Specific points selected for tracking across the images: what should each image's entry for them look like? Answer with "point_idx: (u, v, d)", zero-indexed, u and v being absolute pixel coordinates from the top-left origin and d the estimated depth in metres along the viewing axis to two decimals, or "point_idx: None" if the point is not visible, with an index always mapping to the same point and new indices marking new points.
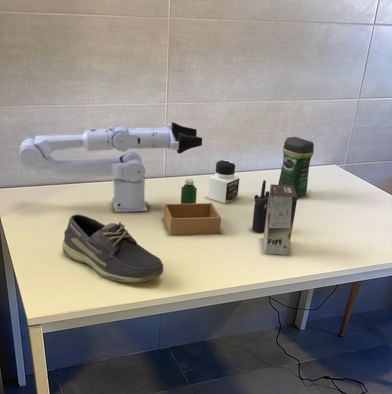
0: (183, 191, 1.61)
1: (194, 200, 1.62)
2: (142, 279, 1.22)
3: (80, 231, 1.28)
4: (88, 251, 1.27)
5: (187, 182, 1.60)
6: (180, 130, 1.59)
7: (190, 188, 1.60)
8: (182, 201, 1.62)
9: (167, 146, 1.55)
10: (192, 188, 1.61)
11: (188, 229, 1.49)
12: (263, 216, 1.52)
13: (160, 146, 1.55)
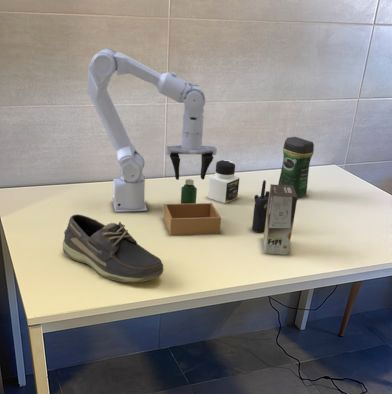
0: (183, 191, 1.61)
1: (194, 200, 1.62)
2: (142, 279, 1.22)
3: (80, 231, 1.28)
4: (88, 251, 1.27)
5: (187, 182, 1.60)
6: (203, 162, 1.58)
7: (190, 188, 1.60)
8: (182, 201, 1.62)
9: None
10: (192, 188, 1.61)
11: (188, 229, 1.49)
12: (263, 216, 1.52)
13: None
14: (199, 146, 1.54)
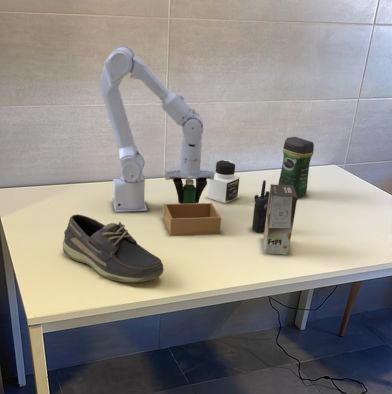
0: (183, 191, 1.61)
1: (194, 200, 1.62)
2: (142, 279, 1.22)
3: (80, 231, 1.28)
4: (88, 251, 1.27)
5: (187, 182, 1.60)
6: (197, 187, 1.61)
7: (190, 188, 1.60)
8: (182, 201, 1.62)
9: None
10: (192, 188, 1.61)
11: (188, 229, 1.49)
12: (263, 216, 1.52)
13: None
14: (197, 171, 1.57)
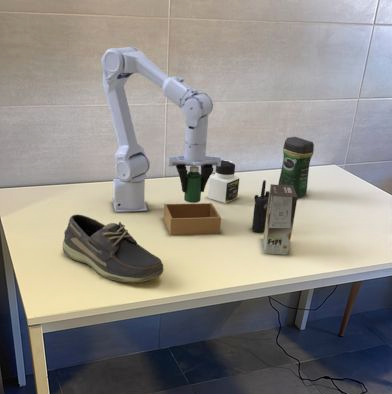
0: (187, 179, 1.48)
1: (199, 189, 1.50)
2: (142, 279, 1.22)
3: (80, 231, 1.28)
4: (88, 251, 1.27)
5: (192, 169, 1.47)
6: (203, 174, 1.49)
7: (195, 175, 1.48)
8: (186, 190, 1.50)
9: None
10: (197, 175, 1.48)
11: (188, 229, 1.49)
12: (263, 216, 1.52)
13: None
14: (203, 157, 1.45)
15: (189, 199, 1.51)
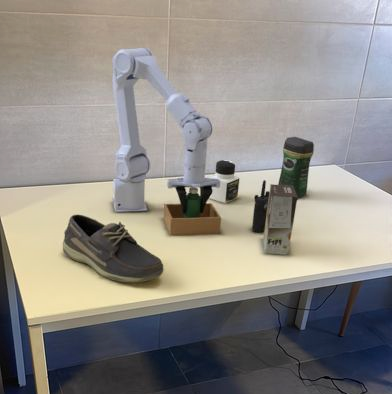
0: (187, 200, 1.49)
1: (198, 210, 1.51)
2: (142, 279, 1.22)
3: (80, 231, 1.28)
4: (88, 251, 1.27)
5: (191, 190, 1.49)
6: (202, 196, 1.50)
7: (194, 197, 1.49)
8: (185, 211, 1.51)
9: None
10: (196, 197, 1.49)
11: (188, 229, 1.49)
12: (263, 216, 1.52)
13: None
14: (202, 179, 1.46)
15: None
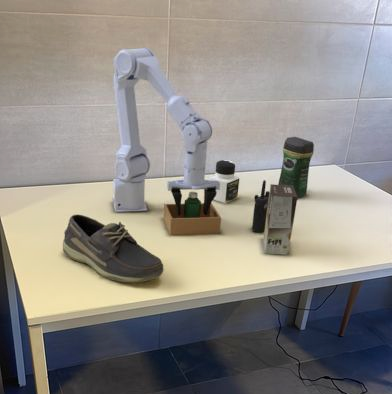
0: (186, 204, 1.50)
1: (198, 214, 1.52)
2: (142, 279, 1.22)
3: (80, 231, 1.29)
4: (88, 251, 1.27)
5: (191, 195, 1.49)
6: (206, 198, 1.51)
7: (194, 201, 1.50)
8: (185, 215, 1.52)
9: None
10: (196, 201, 1.50)
11: (188, 229, 1.49)
12: (263, 216, 1.52)
13: None
14: (202, 181, 1.47)
15: None
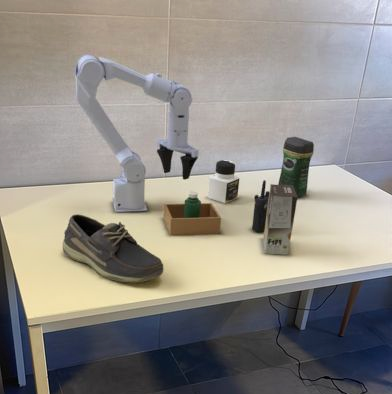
0: (186, 204, 1.50)
1: (198, 214, 1.52)
2: (142, 279, 1.22)
3: (80, 231, 1.29)
4: (88, 251, 1.27)
5: (191, 195, 1.49)
6: (169, 155, 1.63)
7: (194, 201, 1.50)
8: (185, 215, 1.52)
9: (179, 146, 1.56)
10: (196, 201, 1.50)
11: (188, 229, 1.49)
12: (263, 216, 1.52)
13: (180, 138, 1.55)
14: None
15: None
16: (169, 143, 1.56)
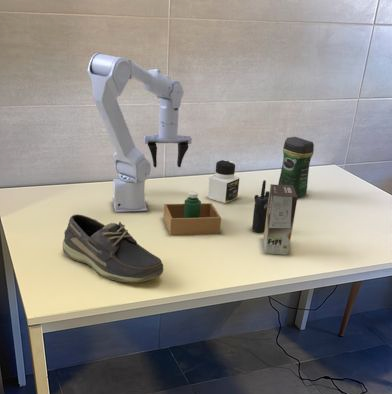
0: (186, 204, 1.50)
1: (198, 214, 1.52)
2: (142, 279, 1.22)
3: (80, 231, 1.29)
4: (88, 251, 1.27)
5: (191, 195, 1.49)
6: None
7: (194, 201, 1.50)
8: (185, 215, 1.52)
9: (176, 137, 1.65)
10: (196, 201, 1.50)
11: (188, 229, 1.49)
12: (263, 216, 1.52)
13: (176, 129, 1.64)
14: None
15: None
16: (167, 137, 1.63)
